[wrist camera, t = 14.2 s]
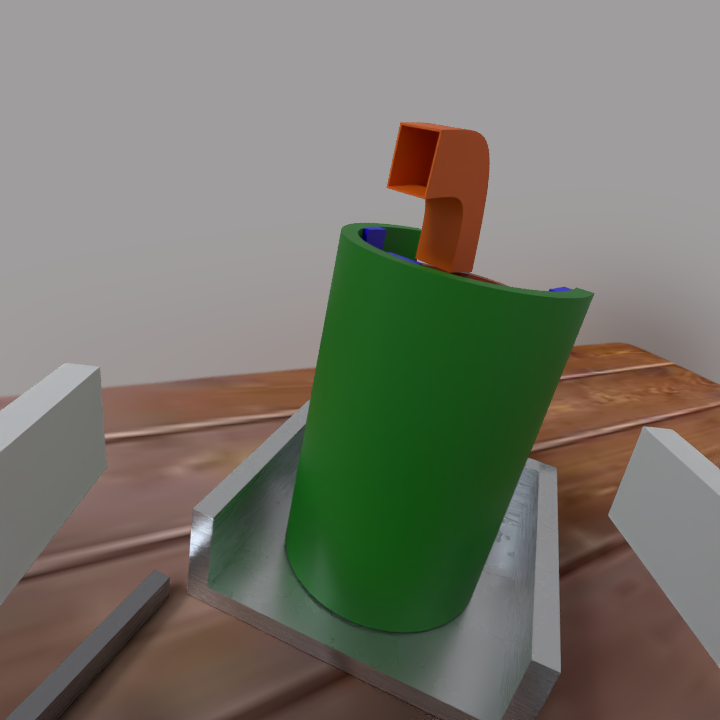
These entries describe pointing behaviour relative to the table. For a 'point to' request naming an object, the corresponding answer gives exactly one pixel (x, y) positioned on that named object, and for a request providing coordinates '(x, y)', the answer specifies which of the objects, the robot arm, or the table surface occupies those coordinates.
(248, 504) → the tray
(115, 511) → the table surface
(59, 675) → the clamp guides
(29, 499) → the robot arm
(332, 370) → the motor
